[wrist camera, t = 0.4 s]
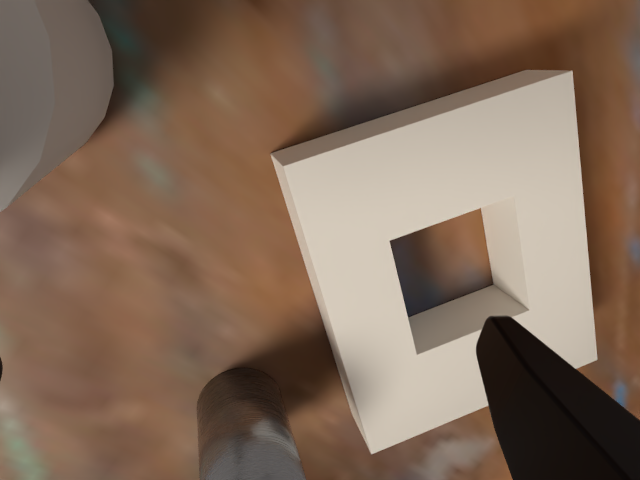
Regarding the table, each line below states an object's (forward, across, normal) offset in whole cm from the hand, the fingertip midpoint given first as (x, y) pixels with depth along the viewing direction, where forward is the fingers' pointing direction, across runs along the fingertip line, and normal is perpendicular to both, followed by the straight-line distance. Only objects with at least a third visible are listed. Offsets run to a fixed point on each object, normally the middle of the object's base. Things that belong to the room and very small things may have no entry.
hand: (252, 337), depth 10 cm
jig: (+12, -9, +8) cm, 17 cm away
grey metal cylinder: (+9, +1, +14) cm, 17 cm away
